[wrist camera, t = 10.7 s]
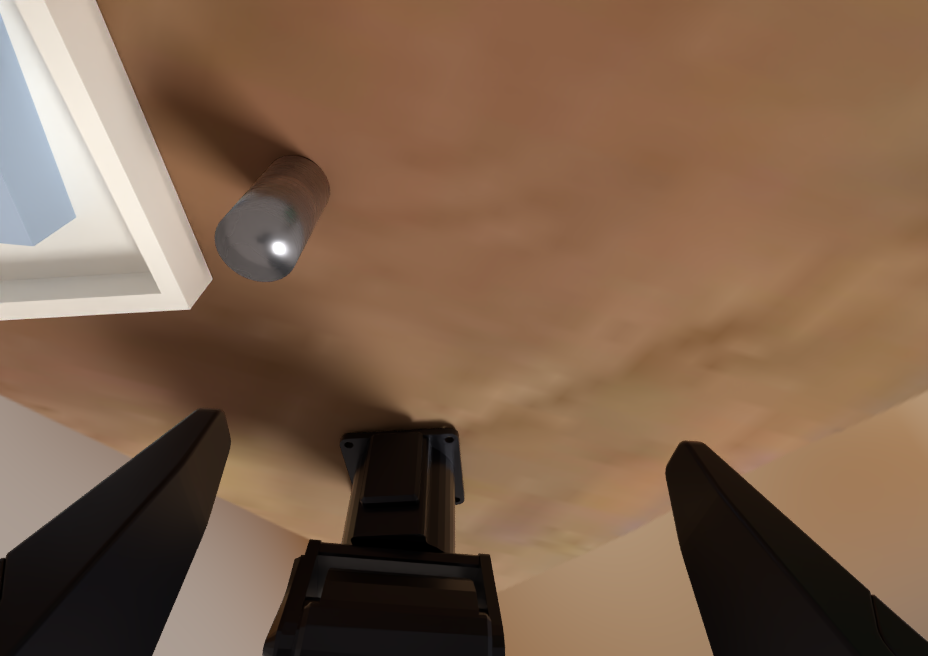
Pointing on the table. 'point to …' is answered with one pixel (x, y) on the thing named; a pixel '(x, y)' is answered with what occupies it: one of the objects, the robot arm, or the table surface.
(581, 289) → the table surface
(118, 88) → the tray
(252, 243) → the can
